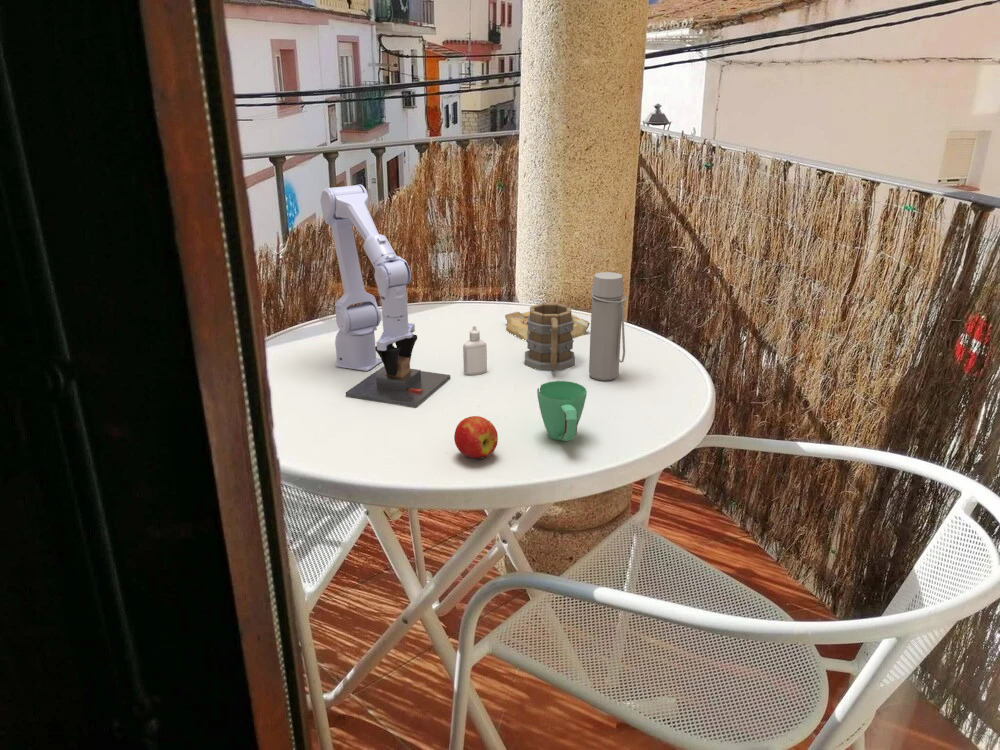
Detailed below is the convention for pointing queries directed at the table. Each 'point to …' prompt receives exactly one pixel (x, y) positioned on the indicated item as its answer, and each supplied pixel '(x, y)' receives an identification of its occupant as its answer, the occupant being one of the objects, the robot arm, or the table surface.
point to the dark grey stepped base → (399, 387)
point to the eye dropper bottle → (475, 354)
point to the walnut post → (402, 367)
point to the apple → (476, 437)
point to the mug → (561, 408)
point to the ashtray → (520, 329)
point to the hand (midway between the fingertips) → (398, 369)
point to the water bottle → (606, 326)
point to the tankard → (550, 337)
